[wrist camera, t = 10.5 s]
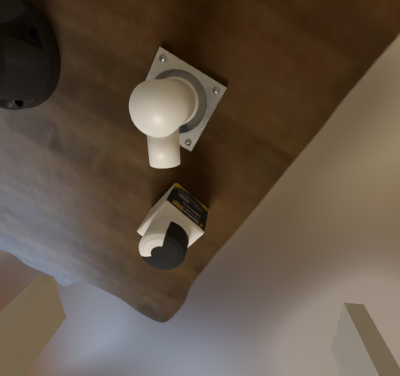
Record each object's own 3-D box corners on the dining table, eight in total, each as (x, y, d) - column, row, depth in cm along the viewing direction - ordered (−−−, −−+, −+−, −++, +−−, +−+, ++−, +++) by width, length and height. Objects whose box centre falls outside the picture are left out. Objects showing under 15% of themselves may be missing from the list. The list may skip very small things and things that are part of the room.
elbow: (152, 77, 34) (122, 76, 25) (198, 76, 33) (184, 75, 24) (158, 146, 37) (133, 168, 28) (199, 146, 37) (188, 169, 28)
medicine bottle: (209, 209, 42) (200, 255, 31) (182, 234, 44) (165, 285, 33) (176, 181, 40) (155, 219, 29) (150, 208, 43) (121, 253, 32)
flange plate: (132, 115, 37) (130, 116, 36) (161, 47, 33) (159, 46, 32) (191, 150, 38) (191, 151, 37) (226, 87, 34) (226, 87, 33)
